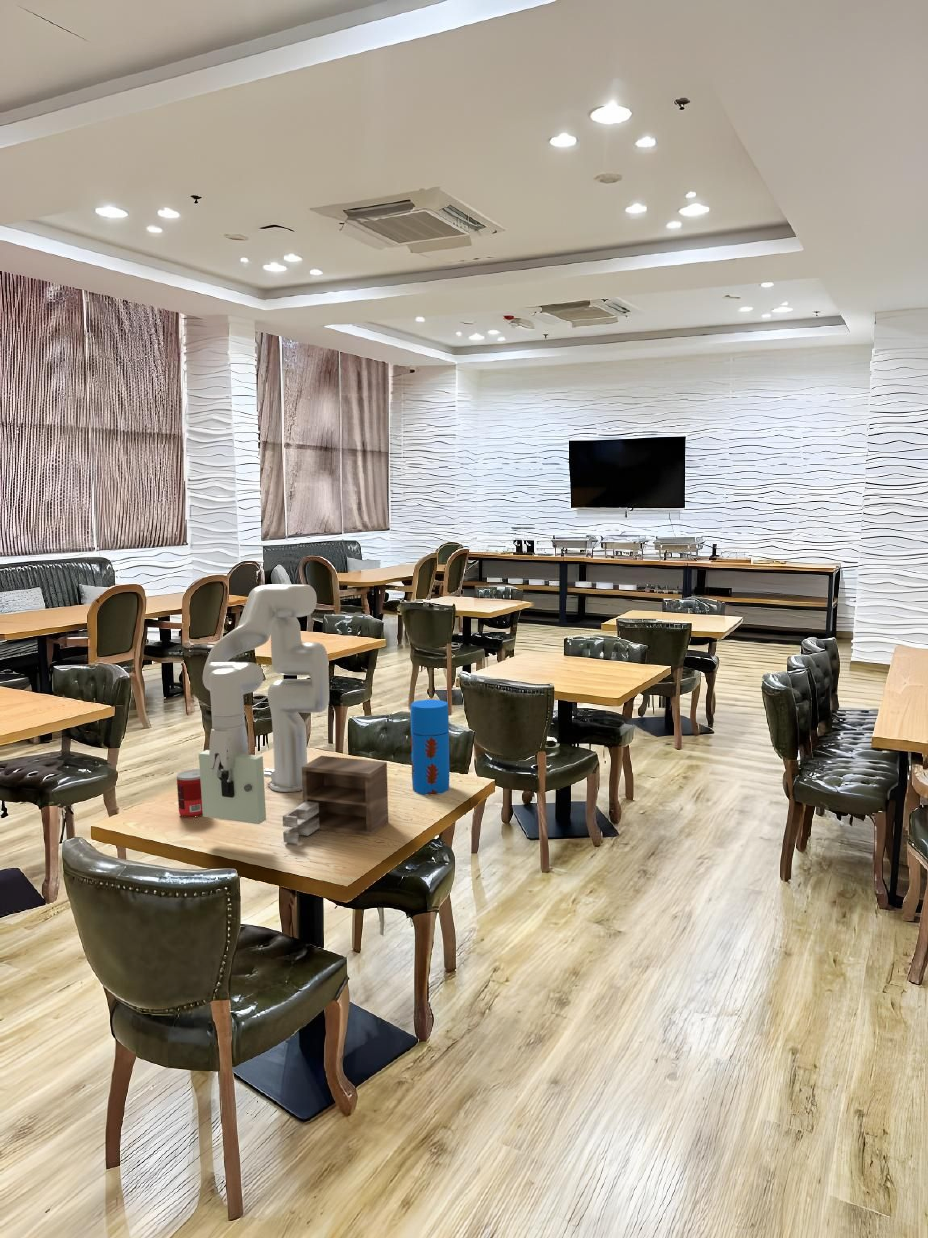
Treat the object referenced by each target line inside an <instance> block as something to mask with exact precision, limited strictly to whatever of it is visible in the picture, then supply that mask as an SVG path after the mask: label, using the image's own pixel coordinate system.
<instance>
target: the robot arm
mask: <svg viewBox="0 0 928 1238" xmlns="http://www.w3.org/2000/svg"><path fill="white" fill-rule="evenodd" d="M317 598H318V597H317V593H316V591H315V589H314V587H312V586H311V585H309V584H281V583H280V584H279V583H278V584H277V583H276V584H273V583H272V584H262V585H259V586H256V587H254V588H252V590H250V592H249V594H248V597H247V598H246V599H247V600H246V602H245V604H244V607H243V611H242V614H241V616H240V619H239V621H238V624H237V626H236V628H234V629H232V630H231V631H230V632H228V633H227V634H226V635H224V636H223V637H221V638H220V639H219V640H218V641H217V642H216V643H215V644H214V645H212V646H213V647H212V648H211V649H210V651H209V653H208V656H207V658H206V662H205V664H204V667H203V670H202V671H203V673H202V684H203V685H204V687H205V689H206V690H208V691H209V693H210V705H211V706H210V711H211V727H212V728H211V730H210V736H209V749H208V750H209V759H210V768H211V769H214V770H213V776H215V777H218V778H219V781H221V790H222V796H223V797H230V798H233V797H234V781H232V768H234V767H235V757H237V756H239V755H241V754H249V753H250V750H249V740H248V739H249V738H248V732H247V731H248V730H247V727H246V722H245V721H246V720H245V704H244V702H245V701H244V695H246V694H251V693H254V692H257V690H258V689H259V688H260V687H261V686H262V683H263V681H264V673H263V672H264V671H263V669H262V667H261V666H260V665H259V664H258V663H255V662H250V661H230V660H231V659H232V658H234V657H236V656H238V655H240V654H242V653H246V652H249V651H251V650H254V649H257V648H259V647H261V646H263V645H265V644H266V643H267V642H268V641H269V639H270V651H271V653H270V654H271V666H272V669H273V672H275V673H276V674H278V675H282V676H283V675H284V676H308V677H309V678H310V679H304V678H303V679H301V678H285V679H284V678H282V679H278V680H275V681H273V682H272V683H270V684H269V687H268V689H267V701H268V706H269V709H270V714H271V725H272V743H273V744H272V745H273V747H272V748H273V766H274V767H273V769H272V768H265V769H264V778H271V781H270V782H269V788H270V789H271V790H273V791H275V792H281V793H292V792H293V793H294V792H299V791H303V790H302V766H304V765H305V764H307V763H308V750H307V749H308V748H307V746H308V745H307V744H308V743H307V726H306V723H305V720H304V719H303V718H302V716H301V715H300V714H299V713H303V714H304V713H307V714H308V713H309V714H310V713H312V714H313V713H314V714H315V713H322V712H324V711H326V710H327V708H328V706H329V704H330V677H329V672H330V671H329V659H328V657H329V656H328V652H327V650H326V647H325V646H324V645H323V644H322V643H320V642H313V641H308V642H307V641H303V640H302V634H301V624H300V622H299V619H298V618H302V617H306V616H310V615H311V614H312V613H313V612H314V610H315V609H316V607H317V602H318V601H317V600H318V599H317ZM249 755H250V754H249ZM223 767H224V768H223ZM224 772H227V775H226V774H225V773H224Z"/></svg>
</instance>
